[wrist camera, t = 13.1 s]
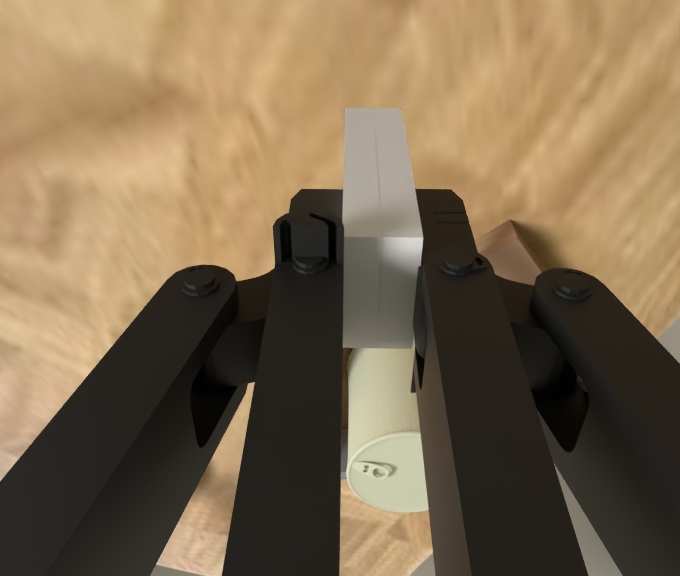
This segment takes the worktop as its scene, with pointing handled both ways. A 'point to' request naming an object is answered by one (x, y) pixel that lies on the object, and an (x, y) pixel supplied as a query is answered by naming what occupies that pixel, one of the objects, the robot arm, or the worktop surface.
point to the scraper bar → (509, 254)
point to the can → (385, 431)
